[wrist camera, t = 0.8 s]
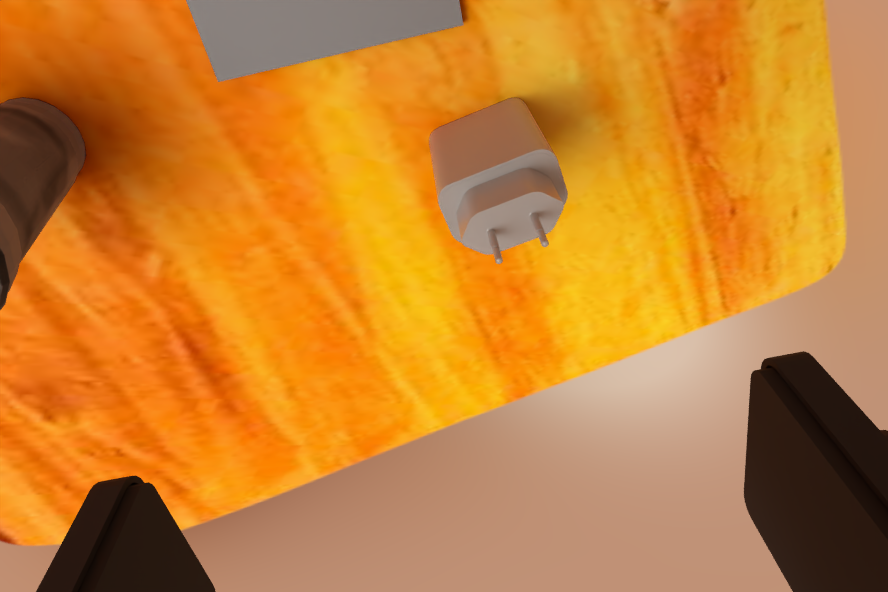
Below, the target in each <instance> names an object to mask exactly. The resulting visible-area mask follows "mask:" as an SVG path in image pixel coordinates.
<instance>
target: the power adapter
mask: <svg viewBox="0 0 888 592" xmlns="http://www.w3.org/2000/svg"><path fill="white" fill-rule="evenodd" d="M429 145H430V152H431V158H432V164H433V171H434V177H435V184H436V190H437V197H438V203H439V206H440V208H441V211H442V213H443V215H444V218H445V220H446V222H447V224H448V227H449V229H450V231H451V233H452V235H453V237H454V238H455V239H456V240H457V241H459V242H461V243H463V245H464V246H466V247H469V248H471V249H473V250H476V251H478V252H480V253H483V254H494V257H495V261H496V263H497V264H501V263H502V261H503V260H502V256H501V253H500V251H503V250H506V249H508V248H511V247H514V246H516V245H519V244H522V243H524V242H527V241H530V240H532V239H535V238H538V237H539V239H540V242H541V244H542V246H543V247H546V246H548V244H549V243H548V240H547V238H546V235H545V234H547V233H549V232H550V231H551V230H552V229H553V228H554V226H555V224H556V222H557V220H558V218H559V216H560V214H561V212H562V210H563V207H564V204H565V202H566V200H567V195H568V194H567V189H566V186H565V183H564V179H563V176H562V173H561V170H560V167H559V163H558V160H557V158H556V156H555V154H554V152H553V151H552V149H551V147H550V145H549V144H548V142H547V140H546V138H545V137H544V135H543V133H542V131H541V130H540V128H539V126H538V124H537V123H536V121H535V119H534V117H533V116H532V114H531V112H530V110H529V109H528V107H527V105H526V104H525V102H524V101H522V100H521V99H519V98H510V99H507V100H504V101H502V102H499V103H497V104H494V105H492V106H490V107H487V108H485V109H482V110H480V111H477V112H475V113H473V114H470V115H468V116H465V117H463V118H460V119H458V120H455V121H453V122H451V123H448V124H446V125H443V126H441V127H439V128H437V129H435V130H434V131H433V132H432V133H431V135H430V138H429Z"/></svg>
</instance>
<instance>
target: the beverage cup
mask: <svg viewBox="0 0 888 592" xmlns="http://www.w3.org/2000/svg"><path fill="white" fill-rule="evenodd" d="M85 157H86V152H85V144H84V140H83V138H82V136H81V134H80V132H79V130H78V128H77V127H76V126H75V125H74V123H73V122H72V121H71V120H70V119H69V117H68V116H66V115H65V114H64V113H62V112H61V111H60V110H58V109H57V108H56V107H54V106H52V105H50V104H47V103H45V102H42V101H40V100H36V99H29V98H18V99H11V100H8V101H6V102H4V103H1V104H0V310H1V309H2V307H3V306H4V305H5V302H6V298H7V293H8V292H9V290H10V288H11V286H12V284H13V281H14V279H15V277H16V274H17V272H18V267H19V263H20V262H21V260H22V259H23V258H24V256H25V255H26V253H27V252H28V250H29V249H30V247H31V246H32V244H33V243H34V241H35V240H36V238H37V237H38V235H39V234H40V232H41V231H42V229H43V228H44V226H45V225H46V223H47V222H48V221H49V219H50V218H51V216H52V215H53V213H54V212H55V210H56V209H57V207H58V206H59V204H60V203H61V201H62V200H63V198H64V197H65V195H66V194H67V192H68V191H69V189H70V188H71V186H72V185H73V184H74V182H75V179H76V176H77V175H78V173H79V171H80V170H81V169H82V167H83V164H84V161H85Z"/></svg>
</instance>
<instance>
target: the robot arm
mask: <svg viewBox="0 0 888 592" xmlns="http://www.w3.org/2000/svg"><path fill="white" fill-rule="evenodd" d="M744 498H745V503H746V506H747V510H748V512H749V515H750V516H751V518H752V520H753V522H754V524H755V526H756V528H757V529H758V531H759V533H760V535H761V536H762V538H763V540H764V542H765V543H766V545H767V547H768V549H769V550H770V552H771V554H772V556H773V557H774V559H775V561H776V563H777V564H778V566H779V568H780V570H781V572H782V573H783V575H784V577H785V579H786V580H787V582H788V584H789V586H790V587H791V589H792V591H793V592H888V431H886V430H879V429H878V428H877V427H876V426H875V425H874V423H873V422H872V421H871V420H870V419H869V418H868V417H867V416H866V415H865V414H864V412H863V411H862V410H861V409H860V408H859V407H858V406H857V405H856V404H855V403H854V401H853V400H852V399H851V398H850V397H849V396H848V395H847V394H846V393H845V392H844V390H843V389H842V388H841V387H840V386H839V385H838V384H837V383H836V382H835V380H834V379H833V378H832V377H831V376H830V375H829V374H828V373H827V372H826V371H825V369H824V368H823V367H822V366H821V365H820V364H819V363H818V362H817V361H816V360H815V358H814V357H813V356H811V355H810V354H809V353H807V352H798V353H793V354H787V355H782V356H777V357H772V358H767V359H764V361H763V362H762V366H761V369H760V370H755V371H753V373H752V374H751V383H750V399H749V416H748V433H747V450H746V466H745V482H744ZM36 592H215V588H214V586H213V584H212V582H211V581H210V579H209V577H208V575H207V574H206V572H205V570H204V569H203V567H202V565H201V564H200V562H199V560H198V559H197V557H196V555H195V554H194V552H193V550H192V549H191V547H190V545H189V544H188V542H187V540H186V539H185V537H184V535H183V534H182V532H181V530H180V529H179V527H178V525H177V524H176V522H175V520H174V519H173V517H172V515H171V514H170V512H169V510H168V509H167V507H166V505H165V504H164V502H163V500H162V499H161V497H160V495H159V494H158V492H157V490H156V489H155V487H154V486H153V485H152V484H150V483H144V482H143V481H142V479H141V478H139V477H137V476H129V477H123V478H118V479H112V480H107V481H102V482H98V483H96V484H95V485H94V486H93V487H92V488H91V490H90V491H89V493H88V495H87V497H86V499H85V501H84V503H83V505H82V506H81V508H80V510H79V512H78V514H77V516H76V518H75V520H74V521H73V523H72V525H71V527H70V529H69V531H68V533H67V535H66V536H65V538H64V540H63V542H62V544H61V546H60V548H59V550H58V552H57V553H56V555H55V557H54V559H53V561H52V563H51V565H50V567H49V568H48V570H47V572H46V574H45V576H44V578H43V580H42V582H41V584H40V585H39V587H38V589H37V591H36Z"/></svg>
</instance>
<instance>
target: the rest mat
mask: <svg viewBox="0 0 888 592" xmlns="http://www.w3.org/2000/svg"><path fill="white" fill-rule="evenodd" d="M186 1H187V4H188V6H189V9H190V11H191V14H192V16H193V19H194V21H195V24H196V26H197V29H198V32H199V34H200V37H201V39H202V42H203V44H204V47H205V49H206V52H207V54H208V57H209V59H210V62H211V65H212V67H213V70H214V72H215V75H216V77H217V80H218V82H220V81H224V80H229V79H233V78H237V77H242V76H246V75H250V74H255V73H259V72H263V71H267V70H272V69H276V68H280V67H285V66H289V65H293V64H298V63H302V62H306V61H310V60H315V59H319V58H323V57H328V56H332V55H336V54H341V53H345V52H349V51H354V50H358V49H362V48H366V47H371V46H375V45H379V44H384V43H388V42H392V41H397V40H401V39H405V38H409V37H414V36H418V35H422V34H427V33H431V32H435V31H440V30H444V29H448V28H453V27H457V26H461V25H463V20H462V14H461V8H460V3H459V0H186Z"/></svg>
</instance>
